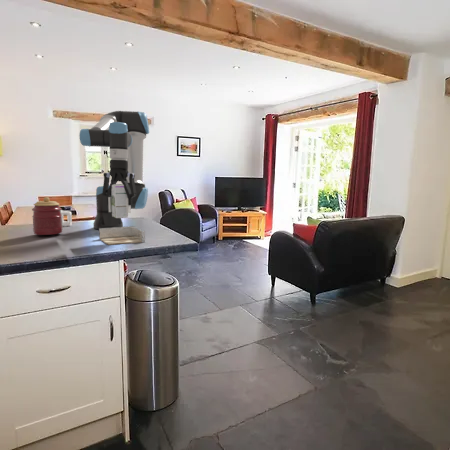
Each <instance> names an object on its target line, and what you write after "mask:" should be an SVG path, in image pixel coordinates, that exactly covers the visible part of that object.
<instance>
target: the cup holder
mask: <svg viewBox="0 0 450 450" xmlns="http://www.w3.org/2000/svg"><path fill="white" fill-rule="evenodd" d="M72 214H73V213H72V211H69V210H63V209H62V210H61V215H62V227H72V225H73V219H72V218H73V217H72ZM64 216H67V221H66V220H64Z"/></svg>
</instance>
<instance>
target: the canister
mask: <svg viewBox="0 0 450 450" xmlns="http://www.w3.org/2000/svg"><path fill="white" fill-rule="evenodd" d="M60 205H61V204H60V203H59V202H57V201H56V200H55V201H54V200H50V197H48V196H45V197H43V200H41V201H36V202H35V203H33V206H34V207H33V208H31V211H32V216H31V218H32V231H33V234H34V235H40V236H49V235H58V234H62V233H63V227H64V226H62V215H61V210H62V211H63V208H61V206H60Z"/></svg>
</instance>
